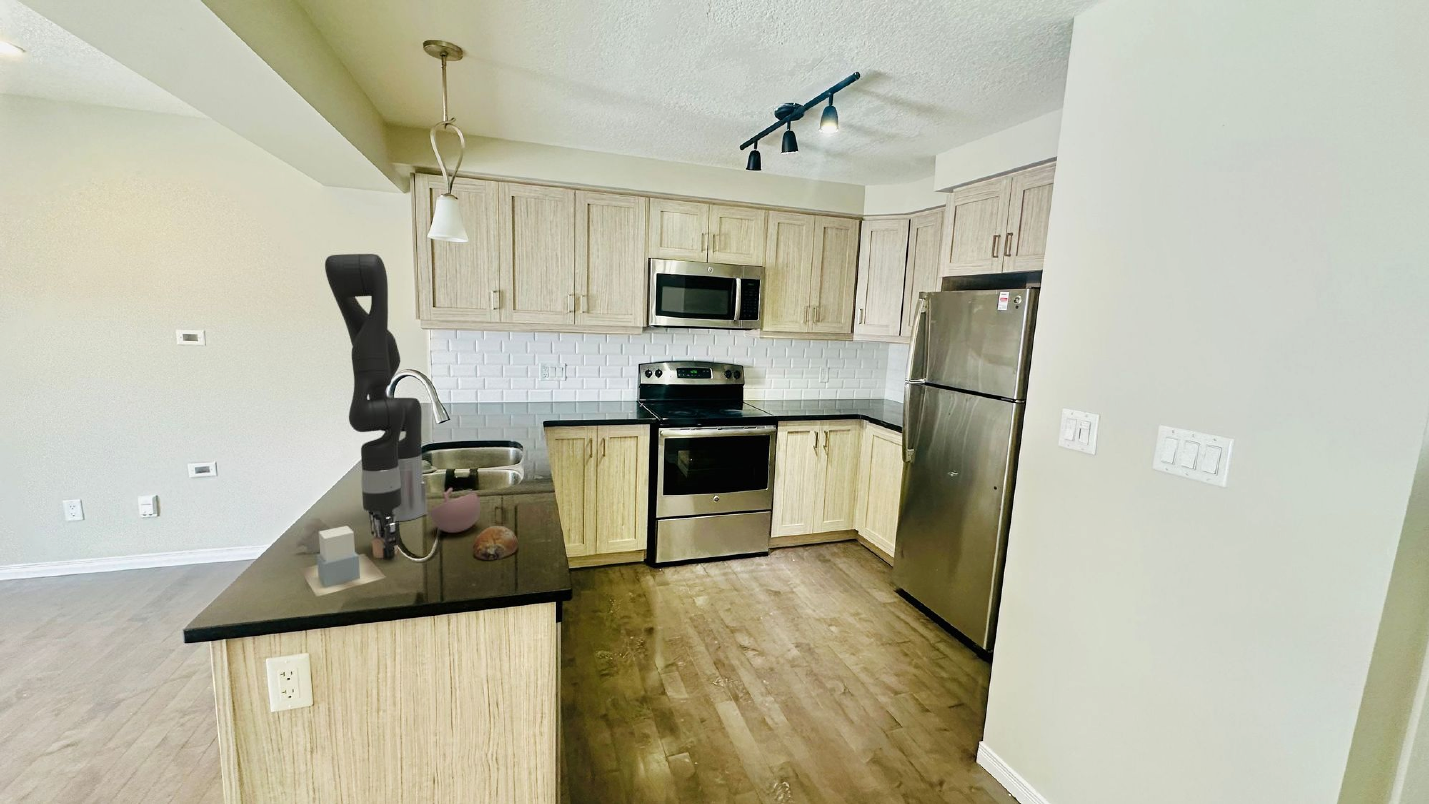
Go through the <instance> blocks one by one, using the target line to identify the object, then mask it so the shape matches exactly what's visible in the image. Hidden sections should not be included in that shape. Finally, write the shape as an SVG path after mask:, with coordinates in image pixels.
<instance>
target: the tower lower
mask: <svg viewBox="0 0 1429 804" xmlns="http://www.w3.org/2000/svg"><path fill="white" fill-rule="evenodd" d="M358 555H359V554H358V553H357V552H356V551H355V556H352V557H347V558H343V559H339V560H335V561H331V562H327V563H326V562H325V560H324V559H323V558H322V556H321V555H320V553H319V554H316V560H317V565H318V575H319V579H320V580H321V582H322V583H323V585H324V586H325V588H327V587H331V586H334V585H338V584H342V583H345V582H349V581H353V580H357V579H360V569H359V556H358Z"/></svg>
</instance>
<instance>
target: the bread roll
mask: <svg viewBox="0 0 1429 804" xmlns="http://www.w3.org/2000/svg"><path fill="white" fill-rule="evenodd" d="M518 544H519V540H518V538H517V536H516V535H515V533H514V532H513V531H512V530H511V529H509V528H507V527H506V526H501V525H500V526H499V525H497V526H496V525H495V526H493V525H491V526H490V527H488V528H486V529H484V530H483V531H482V532H481V533H480V534H478V535H477V536H476V537H475V540H474V543H473V546H472V548H473V549H472V551H473V555H474V556H475V557H476V558H477V559H479V560H485V561H487V560H488V561H494V560H498V559H499V560H500V559H503V558H507V557H510V556H511V555H513V554H514V553H515V552H516V551H517V549H518Z"/></svg>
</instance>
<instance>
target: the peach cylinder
mask: <svg viewBox="0 0 1429 804" xmlns="http://www.w3.org/2000/svg"><path fill="white" fill-rule="evenodd" d="M389 541H391V539H389ZM394 548H395V555H397V554H398V545H396V546H394ZM372 557H374V558H376V559H383V547H382V541H381V538H379V537H377V538H375V539H374V538H373V539H372Z"/></svg>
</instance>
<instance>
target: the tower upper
mask: <svg viewBox="0 0 1429 804" xmlns="http://www.w3.org/2000/svg"><path fill="white" fill-rule="evenodd" d="M354 534H355V533H354V531H353V530H352V529H351V528H350V527H349V526H348V525H343V526H339V527H338V526H337V527H334V528H330V529H329V530H324V531H319V543H320V552H319V554H320V555H321V556H322V558H323V559H324V560H325V562H326V563H327V562H331V561H335V560H339V559H343V558H347V557H352V556H355V552H356V549H355V535H354Z"/></svg>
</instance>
